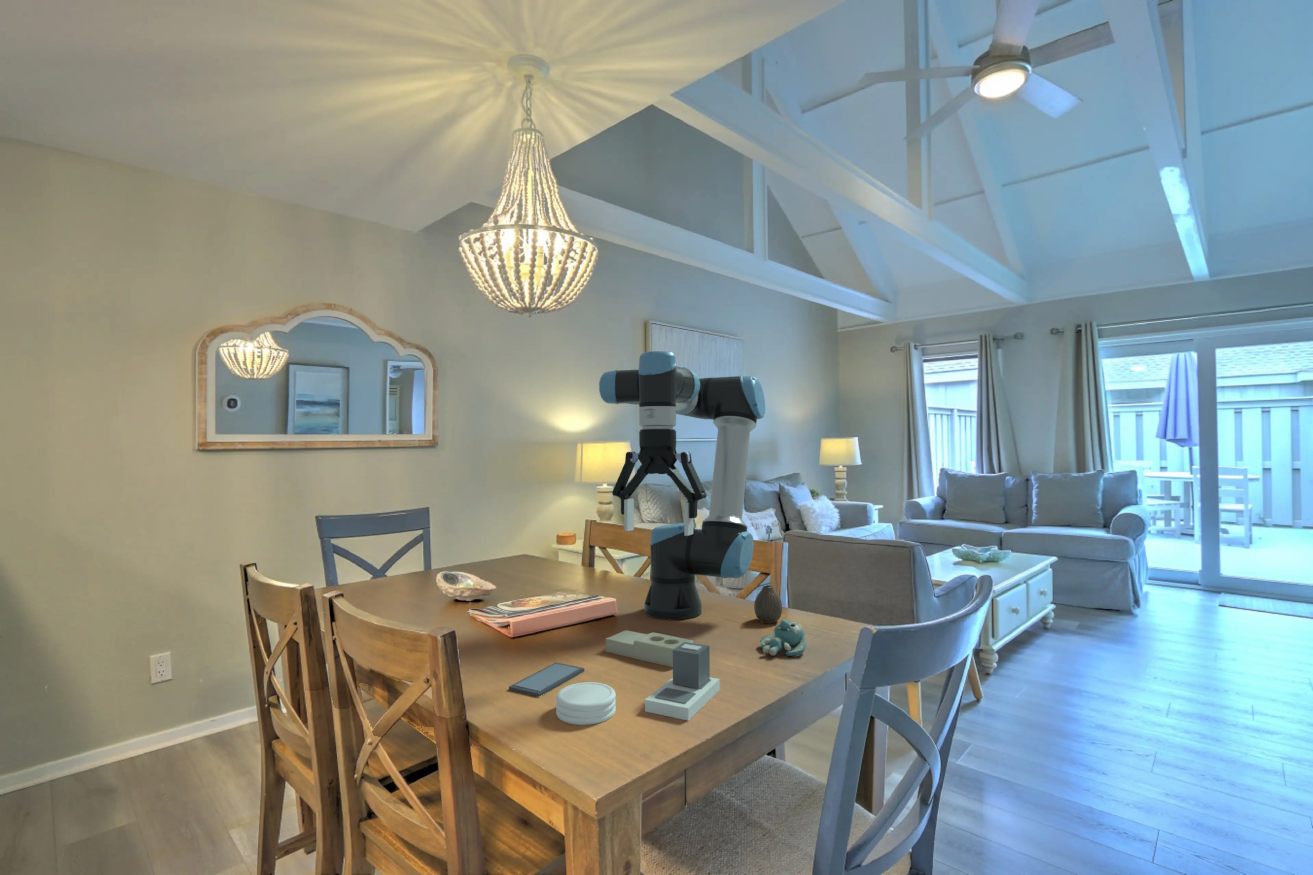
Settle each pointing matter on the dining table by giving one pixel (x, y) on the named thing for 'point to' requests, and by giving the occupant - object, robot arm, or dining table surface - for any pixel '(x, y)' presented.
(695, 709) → the plate
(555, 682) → the phone
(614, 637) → the electrical outlet
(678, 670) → the block
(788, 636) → the stuffed animal
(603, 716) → the coaster
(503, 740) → the dining table surface
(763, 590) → the vase
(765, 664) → the dining table surface
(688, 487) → the robot arm
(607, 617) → the dining table surface
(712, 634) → the dining table surface
